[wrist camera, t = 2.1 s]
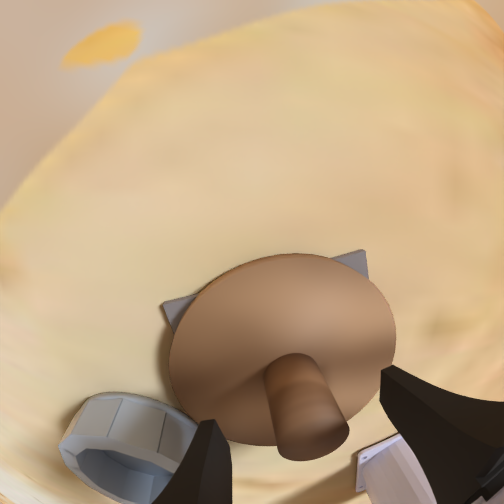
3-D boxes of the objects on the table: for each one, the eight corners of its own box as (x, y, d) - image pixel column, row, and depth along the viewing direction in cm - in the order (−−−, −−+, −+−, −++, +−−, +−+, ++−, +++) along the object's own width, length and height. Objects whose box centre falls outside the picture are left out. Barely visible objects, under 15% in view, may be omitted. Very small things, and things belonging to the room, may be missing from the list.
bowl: (231, 470, 16) (233, 511, 12) (122, 474, 16) (114, 507, 12) (180, 384, 14) (171, 435, 10) (56, 393, 13) (32, 428, 10)
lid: (385, 399, 15) (422, 452, 10) (214, 448, 15) (214, 514, 9) (379, 226, 12) (457, 248, 7) (137, 289, 12) (87, 350, 7)
